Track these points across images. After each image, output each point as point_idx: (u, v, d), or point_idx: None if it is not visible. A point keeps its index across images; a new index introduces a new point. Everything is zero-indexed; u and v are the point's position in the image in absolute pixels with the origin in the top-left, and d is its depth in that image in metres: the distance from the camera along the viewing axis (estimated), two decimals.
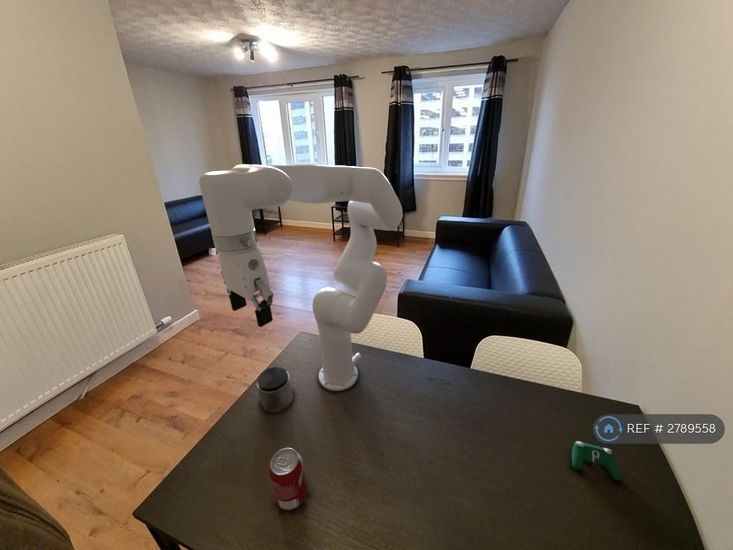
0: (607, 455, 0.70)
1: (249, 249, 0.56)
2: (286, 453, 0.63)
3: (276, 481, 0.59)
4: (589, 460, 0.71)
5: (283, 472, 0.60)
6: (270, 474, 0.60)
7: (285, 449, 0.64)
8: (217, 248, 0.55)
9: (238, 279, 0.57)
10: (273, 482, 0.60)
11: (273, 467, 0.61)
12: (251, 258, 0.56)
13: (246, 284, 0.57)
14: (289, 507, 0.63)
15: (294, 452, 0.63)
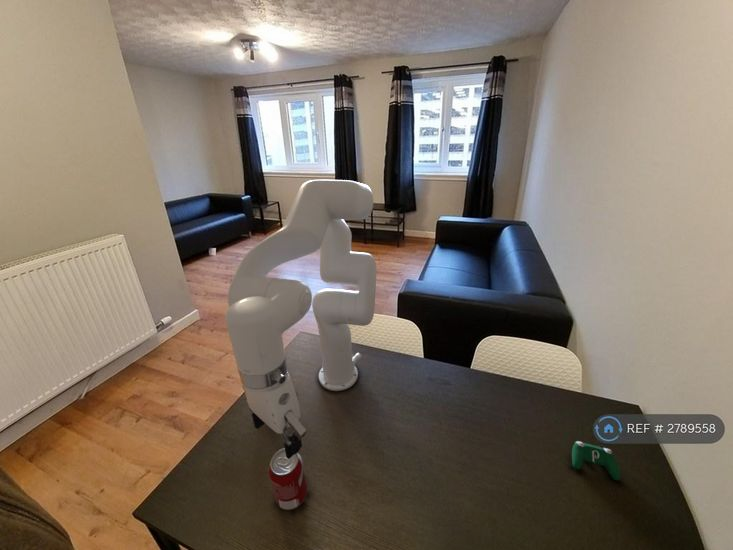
0: (607, 455, 0.70)
1: None
2: None
3: (276, 481, 0.59)
4: (589, 460, 0.71)
5: (283, 472, 0.60)
6: (270, 474, 0.60)
7: None
8: (243, 384, 0.48)
9: (266, 413, 0.50)
10: (273, 482, 0.60)
11: (273, 467, 0.61)
12: (282, 392, 0.49)
13: (276, 421, 0.49)
14: (289, 507, 0.63)
15: None
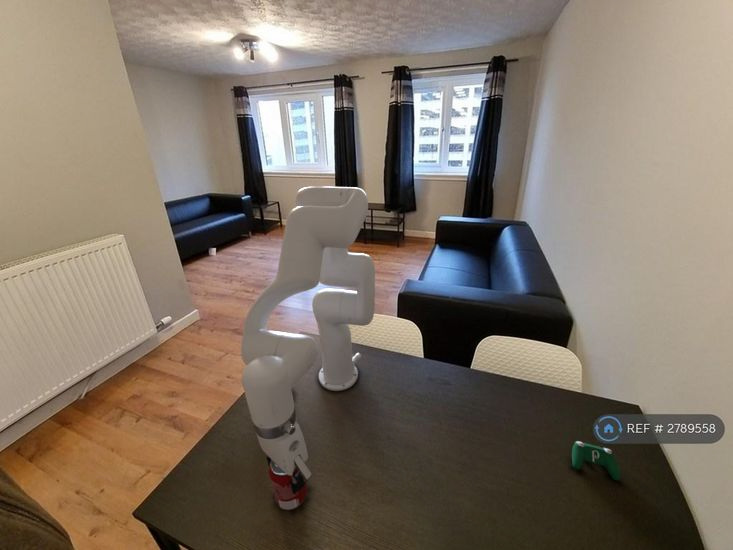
0: (607, 455, 0.70)
1: None
2: None
3: (276, 481, 0.59)
4: (589, 460, 0.71)
5: (283, 472, 0.60)
6: (270, 474, 0.60)
7: None
8: (257, 434, 0.53)
9: (277, 458, 0.56)
10: (273, 482, 0.60)
11: (273, 467, 0.61)
12: (292, 441, 0.54)
13: (286, 465, 0.55)
14: (289, 507, 0.63)
15: None
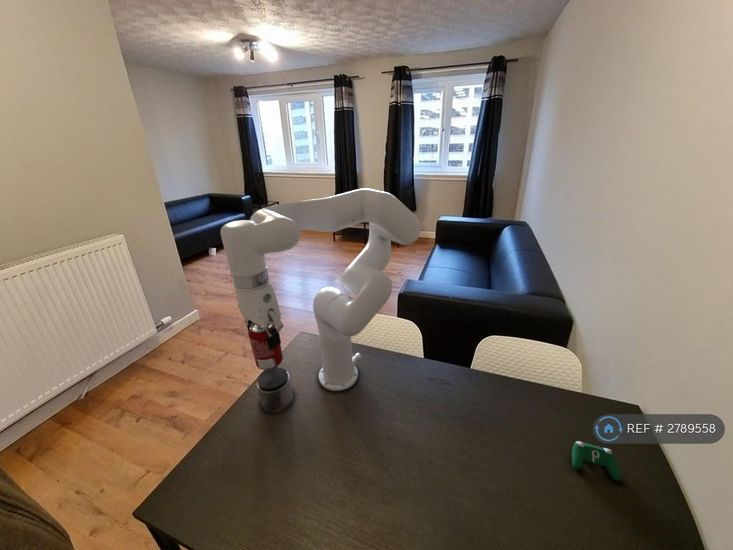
0: (607, 455, 0.70)
1: (263, 285, 0.66)
2: None
3: (254, 338, 0.71)
4: (589, 460, 0.71)
5: (260, 331, 0.71)
6: (249, 334, 0.72)
7: None
8: (236, 286, 0.65)
9: (254, 310, 0.67)
10: (252, 340, 0.71)
11: (252, 329, 0.72)
12: (265, 292, 0.65)
13: (261, 315, 0.66)
14: (267, 367, 0.74)
15: (270, 320, 0.74)
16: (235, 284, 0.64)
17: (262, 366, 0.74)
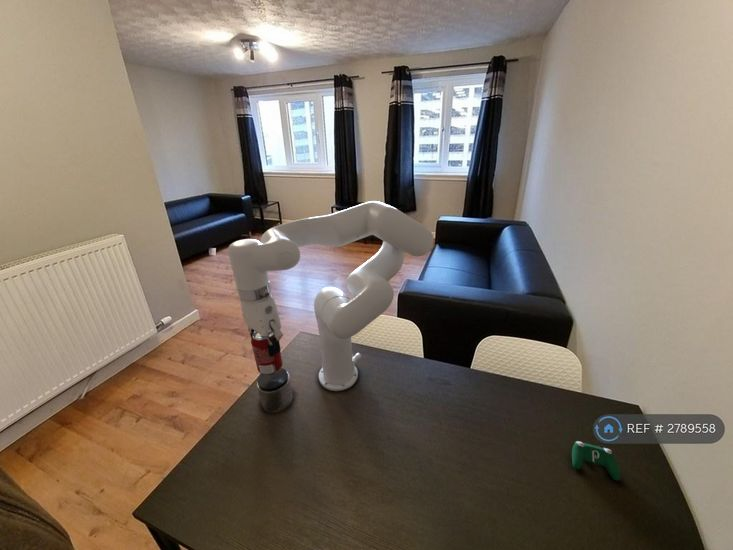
0: (607, 455, 0.70)
1: (265, 298, 0.72)
2: None
3: (256, 345, 0.77)
4: (589, 460, 0.71)
5: (262, 339, 0.77)
6: (252, 342, 0.78)
7: None
8: (240, 298, 0.71)
9: (256, 321, 0.73)
10: (254, 347, 0.78)
11: (254, 337, 0.78)
12: (267, 305, 0.72)
13: (263, 325, 0.73)
14: (267, 372, 0.81)
15: None
16: (240, 297, 0.71)
17: (263, 371, 0.81)
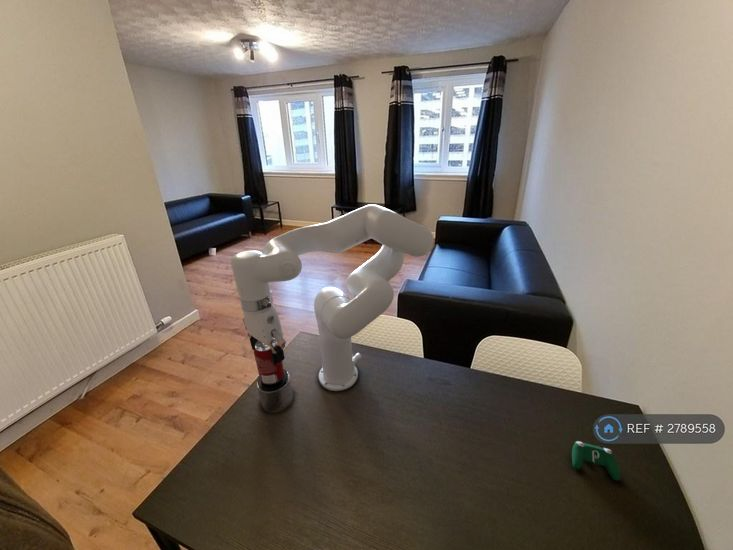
0: (607, 455, 0.70)
1: (267, 308, 0.73)
2: None
3: (259, 356, 0.79)
4: (589, 460, 0.71)
5: (264, 350, 0.79)
6: (254, 352, 0.80)
7: None
8: (243, 308, 0.72)
9: (259, 330, 0.75)
10: (257, 358, 0.79)
11: (257, 347, 0.80)
12: (269, 315, 0.73)
13: (265, 334, 0.74)
14: (269, 382, 0.82)
15: None
16: (242, 307, 0.72)
17: (265, 381, 0.82)
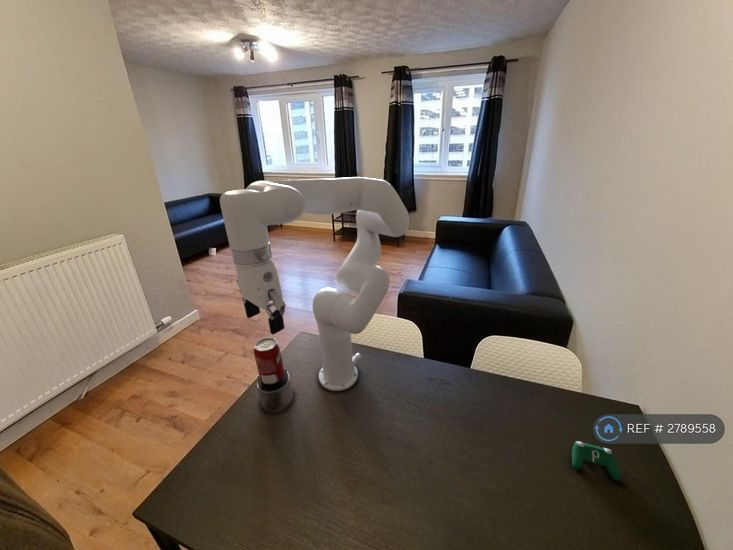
0: (607, 455, 0.70)
1: (264, 262, 0.60)
2: (267, 340, 0.82)
3: (259, 356, 0.79)
4: (589, 460, 0.71)
5: (264, 350, 0.79)
6: (254, 352, 0.80)
7: (266, 338, 0.83)
8: (235, 261, 0.59)
9: (253, 290, 0.61)
10: (257, 358, 0.79)
11: (257, 347, 0.80)
12: (265, 270, 0.60)
13: (260, 295, 0.60)
14: (269, 382, 0.82)
15: (273, 340, 0.82)
16: (234, 259, 0.59)
17: (265, 381, 0.82)
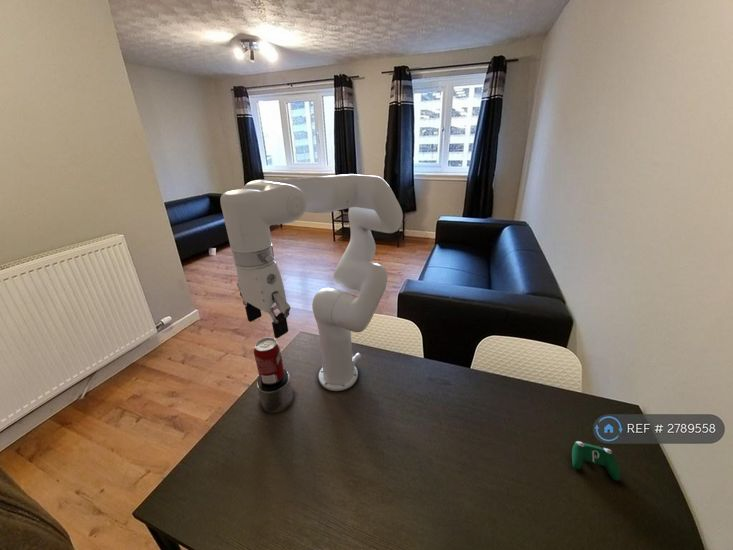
0: (607, 455, 0.70)
1: (267, 264, 0.58)
2: (267, 340, 0.82)
3: (259, 356, 0.79)
4: (589, 460, 0.71)
5: (264, 350, 0.79)
6: (254, 352, 0.80)
7: (266, 338, 0.83)
8: (236, 263, 0.57)
9: (256, 293, 0.59)
10: (257, 358, 0.79)
11: (257, 347, 0.80)
12: (269, 272, 0.58)
13: (264, 298, 0.58)
14: (269, 382, 0.82)
15: (273, 340, 0.82)
16: (236, 261, 0.57)
17: (265, 381, 0.82)
